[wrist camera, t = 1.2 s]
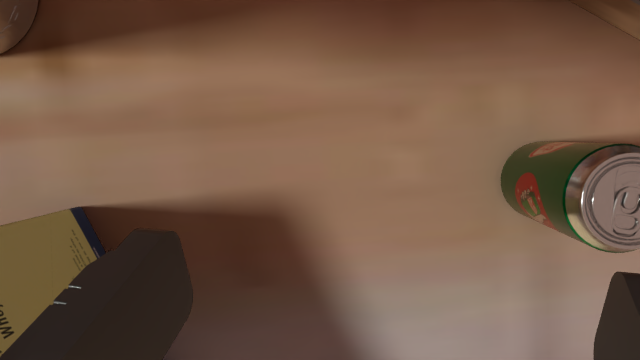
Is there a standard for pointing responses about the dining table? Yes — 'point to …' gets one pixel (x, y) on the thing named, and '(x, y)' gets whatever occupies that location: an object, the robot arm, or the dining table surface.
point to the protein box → (40, 265)
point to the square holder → (616, 13)
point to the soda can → (579, 190)
